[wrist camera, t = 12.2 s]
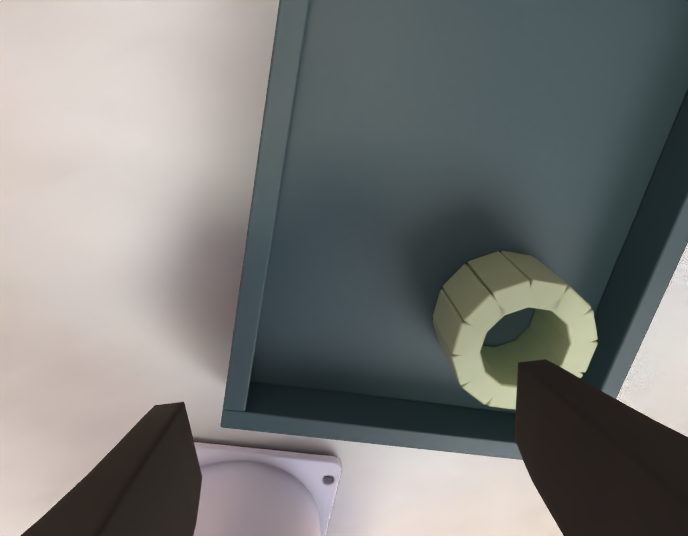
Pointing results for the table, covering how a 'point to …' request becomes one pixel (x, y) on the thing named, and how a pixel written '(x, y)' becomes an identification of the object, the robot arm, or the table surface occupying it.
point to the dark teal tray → (450, 201)
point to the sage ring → (501, 299)
